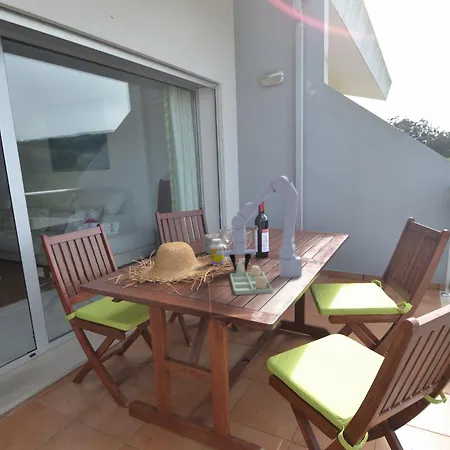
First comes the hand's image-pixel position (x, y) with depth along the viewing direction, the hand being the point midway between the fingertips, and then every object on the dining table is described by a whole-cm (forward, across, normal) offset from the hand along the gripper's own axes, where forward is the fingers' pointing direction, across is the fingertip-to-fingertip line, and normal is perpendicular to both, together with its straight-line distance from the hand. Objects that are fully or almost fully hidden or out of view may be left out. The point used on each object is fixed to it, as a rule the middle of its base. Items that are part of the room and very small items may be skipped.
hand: (240, 270), depth 151 cm
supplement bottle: (+2, +10, -16) cm, 19 cm away
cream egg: (+1, 0, 0) cm, 1 cm away
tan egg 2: (+1, -6, +24) cm, 24 cm away
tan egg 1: (+1, -6, +10) cm, 11 cm away
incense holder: (+2, +11, -40) cm, 42 cm away
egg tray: (+1, -2, +16) cm, 17 cm away
